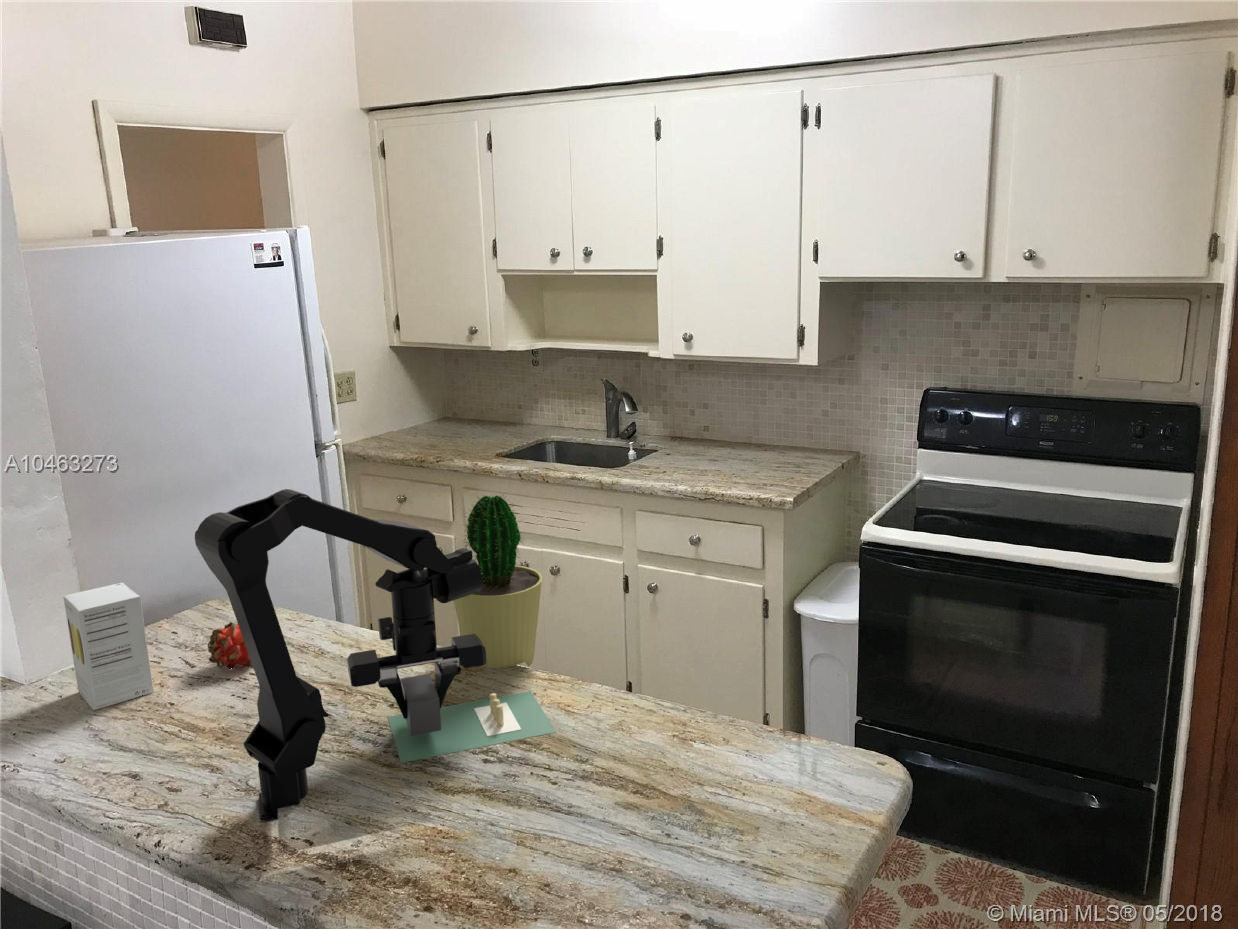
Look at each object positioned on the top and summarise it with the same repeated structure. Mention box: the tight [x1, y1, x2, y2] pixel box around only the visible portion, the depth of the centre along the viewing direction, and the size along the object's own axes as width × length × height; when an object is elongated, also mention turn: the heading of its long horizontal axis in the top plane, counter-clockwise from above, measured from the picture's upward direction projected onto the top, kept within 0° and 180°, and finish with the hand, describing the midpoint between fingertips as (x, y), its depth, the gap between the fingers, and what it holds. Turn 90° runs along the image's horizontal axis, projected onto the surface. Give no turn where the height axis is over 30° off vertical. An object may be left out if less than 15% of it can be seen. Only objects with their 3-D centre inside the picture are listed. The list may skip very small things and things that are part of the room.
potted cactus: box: [453, 493, 543, 669], centre depth 164 cm, size 15×15×30 cm
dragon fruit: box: [207, 621, 253, 670], centre depth 168 cm, size 8×8×12 cm
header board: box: [387, 690, 557, 764], centre depth 142 cm, size 14×22×4 cm, turn 110°
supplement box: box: [63, 582, 154, 711], centre depth 157 cm, size 10×9×17 cm
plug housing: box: [400, 673, 441, 736], centre depth 140 cm, size 11×4×5 cm, turn 20°
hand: (421, 714), depth 139 cm, fingers closed on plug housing, 4 cm apart
